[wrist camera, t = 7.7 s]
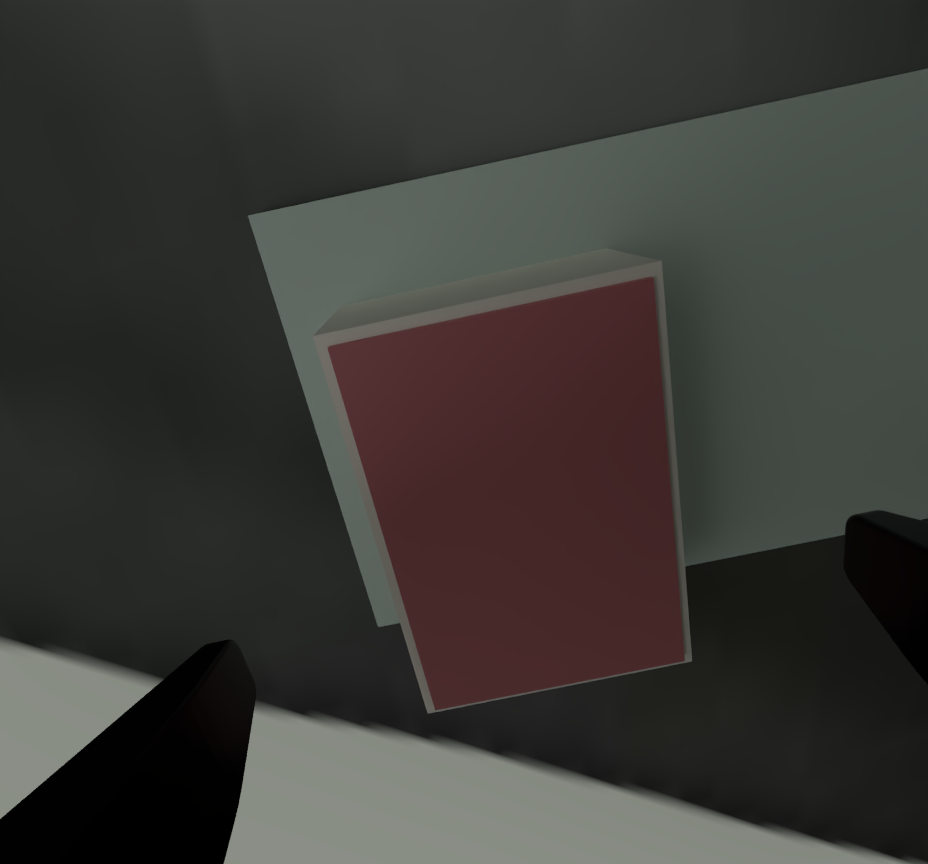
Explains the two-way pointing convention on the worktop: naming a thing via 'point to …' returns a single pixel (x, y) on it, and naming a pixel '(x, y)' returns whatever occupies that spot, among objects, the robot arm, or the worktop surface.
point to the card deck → (519, 472)
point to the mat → (687, 297)
